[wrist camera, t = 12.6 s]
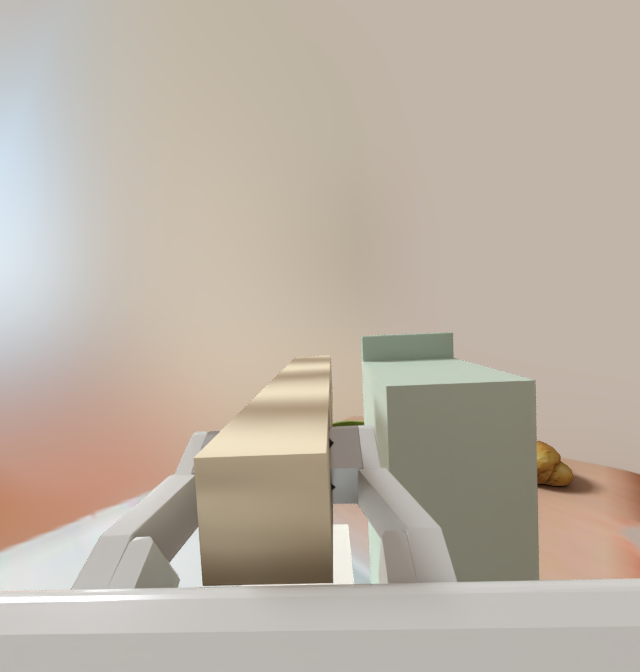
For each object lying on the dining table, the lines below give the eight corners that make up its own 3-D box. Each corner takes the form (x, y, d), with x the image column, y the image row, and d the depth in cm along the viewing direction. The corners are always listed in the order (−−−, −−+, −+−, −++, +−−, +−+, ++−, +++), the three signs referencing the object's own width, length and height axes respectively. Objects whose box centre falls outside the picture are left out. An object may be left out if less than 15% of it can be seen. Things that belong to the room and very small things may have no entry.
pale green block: (543, 800, 20) (534, 339, 19) (401, 800, 20) (384, 345, 19) (455, 605, 34) (447, 332, 33) (371, 606, 34) (360, 336, 33)
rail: (333, 583, 7) (326, 452, 7) (202, 586, 7) (193, 458, 7) (332, 390, 27) (330, 355, 27) (297, 391, 27) (295, 357, 27)
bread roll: (582, 483, 57) (581, 440, 57) (556, 500, 53) (555, 453, 52) (509, 459, 69) (508, 422, 68) (482, 471, 64) (481, 432, 63)
